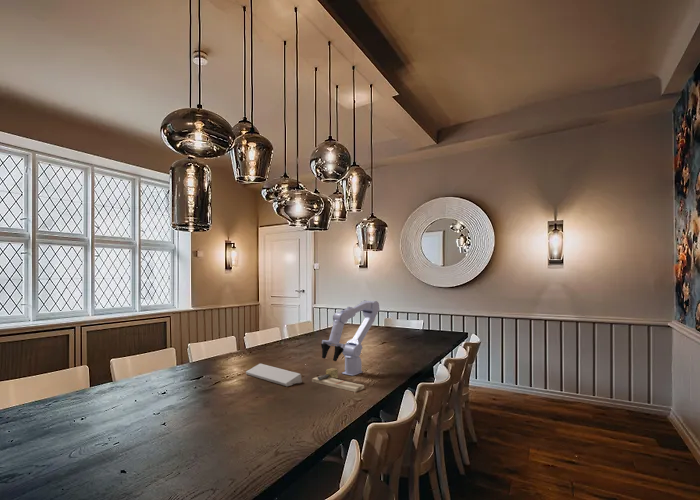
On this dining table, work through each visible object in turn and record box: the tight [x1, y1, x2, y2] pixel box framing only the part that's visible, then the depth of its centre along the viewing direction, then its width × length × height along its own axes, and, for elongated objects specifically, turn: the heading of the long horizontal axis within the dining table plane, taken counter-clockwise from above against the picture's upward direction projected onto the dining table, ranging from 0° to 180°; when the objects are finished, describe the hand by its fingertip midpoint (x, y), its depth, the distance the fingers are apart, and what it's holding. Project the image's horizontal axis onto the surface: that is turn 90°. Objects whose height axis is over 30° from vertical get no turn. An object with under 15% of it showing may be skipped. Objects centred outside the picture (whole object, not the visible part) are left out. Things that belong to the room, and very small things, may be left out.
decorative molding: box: [245, 362, 303, 387], centre depth 199 cm, size 34×5×10 cm
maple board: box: [311, 375, 365, 393], centre depth 187 cm, size 7×28×2 cm, turn 52°
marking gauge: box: [317, 367, 339, 380], centre depth 195 cm, size 12×4×5 cm, turn 142°
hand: (329, 359), depth 196 cm, fingers open, 7 cm apart
